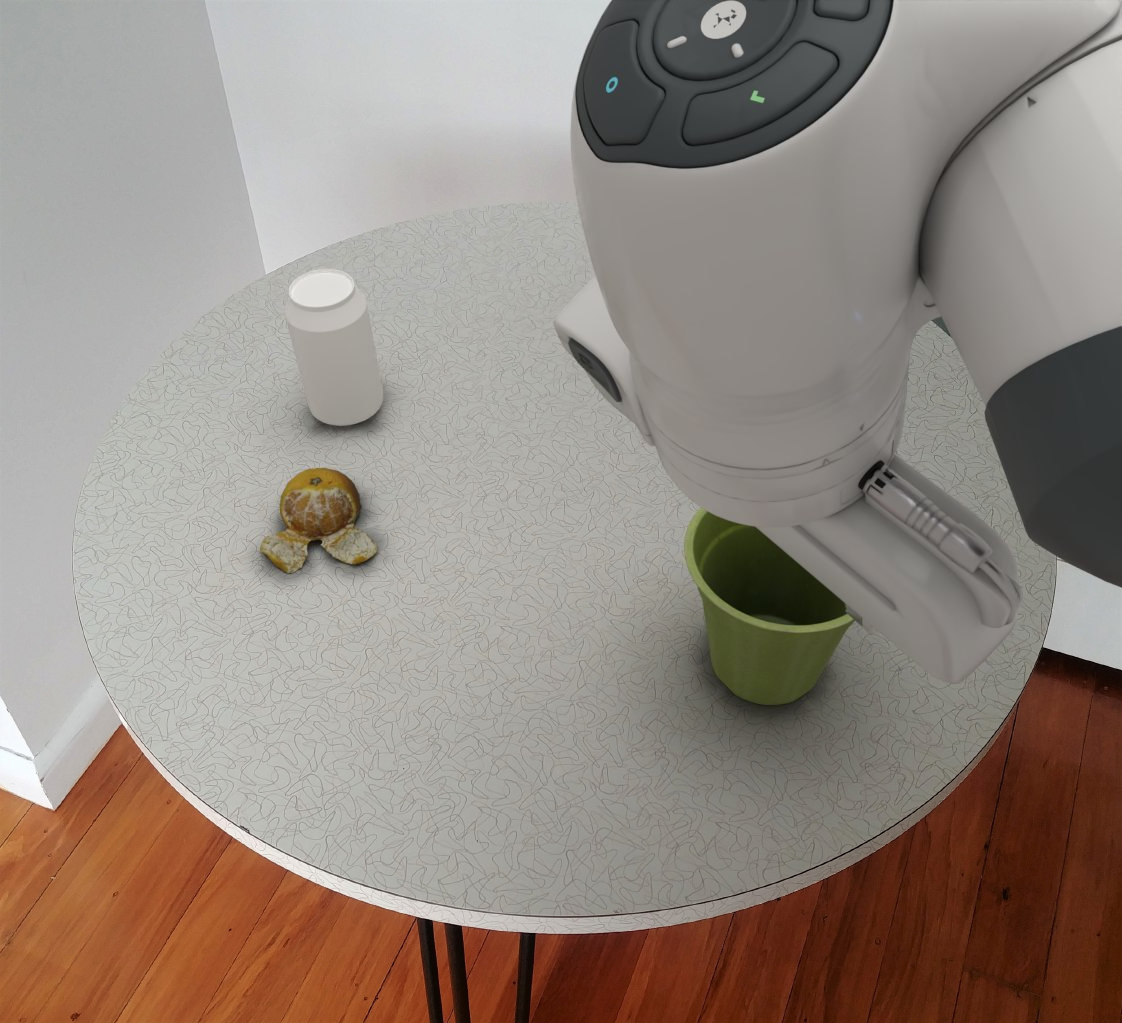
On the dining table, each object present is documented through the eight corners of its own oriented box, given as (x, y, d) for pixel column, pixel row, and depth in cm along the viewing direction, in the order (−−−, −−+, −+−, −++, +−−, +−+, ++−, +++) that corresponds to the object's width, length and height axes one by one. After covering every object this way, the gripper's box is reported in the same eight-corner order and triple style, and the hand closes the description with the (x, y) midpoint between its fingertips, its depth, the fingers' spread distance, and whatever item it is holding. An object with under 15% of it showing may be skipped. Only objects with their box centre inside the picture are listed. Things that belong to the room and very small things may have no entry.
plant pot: (808, 574, 75) (835, 461, 67) (885, 713, 67) (927, 605, 59) (649, 610, 73) (657, 498, 65) (709, 758, 65) (727, 652, 57)
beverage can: (394, 420, 87) (373, 299, 78) (321, 441, 85) (290, 320, 76) (373, 375, 91) (350, 255, 82) (302, 395, 89) (271, 275, 80)
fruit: (261, 574, 76) (249, 541, 73) (271, 491, 82) (261, 457, 79) (377, 565, 76) (370, 531, 74) (379, 482, 82) (372, 448, 79)
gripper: (1097, 516, 32) (1029, 649, 44) (640, 195, 42) (688, 378, 54) (955, 660, 31) (926, 755, 44) (522, 300, 41) (598, 461, 53)
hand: (792, 544), depth 49 cm, fingers open, 8 cm apart
